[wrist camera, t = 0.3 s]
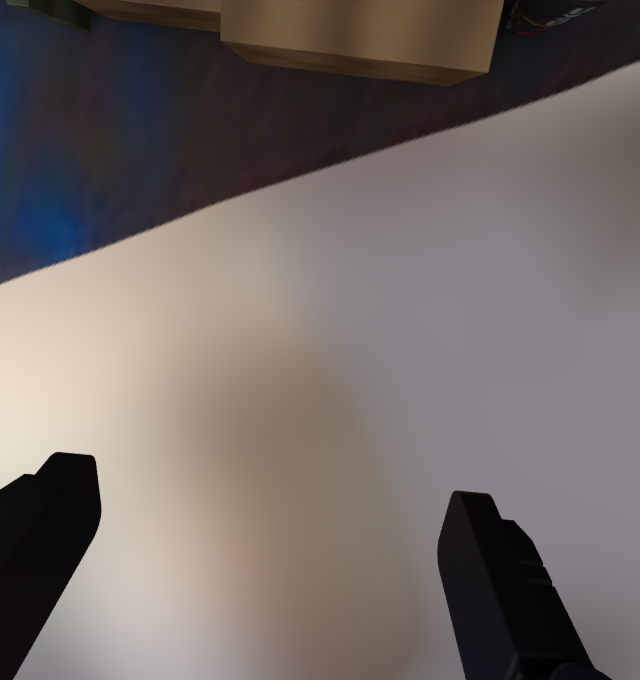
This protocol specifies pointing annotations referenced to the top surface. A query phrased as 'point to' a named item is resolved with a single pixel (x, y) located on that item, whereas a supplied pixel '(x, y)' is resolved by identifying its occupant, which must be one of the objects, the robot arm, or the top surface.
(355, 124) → the top surface
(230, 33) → the cabinet
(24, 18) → the top surface
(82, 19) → the drawer
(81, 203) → the top surface
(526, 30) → the deodorant
